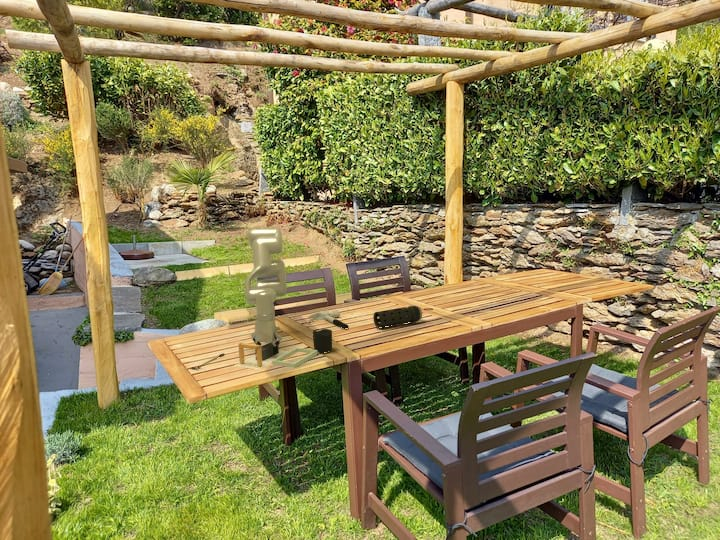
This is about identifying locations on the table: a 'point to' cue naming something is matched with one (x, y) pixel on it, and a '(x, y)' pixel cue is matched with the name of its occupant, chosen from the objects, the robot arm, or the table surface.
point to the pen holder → (322, 340)
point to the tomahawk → (207, 362)
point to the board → (252, 361)
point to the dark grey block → (267, 351)
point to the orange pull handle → (250, 346)
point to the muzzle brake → (397, 316)
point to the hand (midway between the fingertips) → (267, 352)
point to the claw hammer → (328, 317)
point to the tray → (297, 363)
